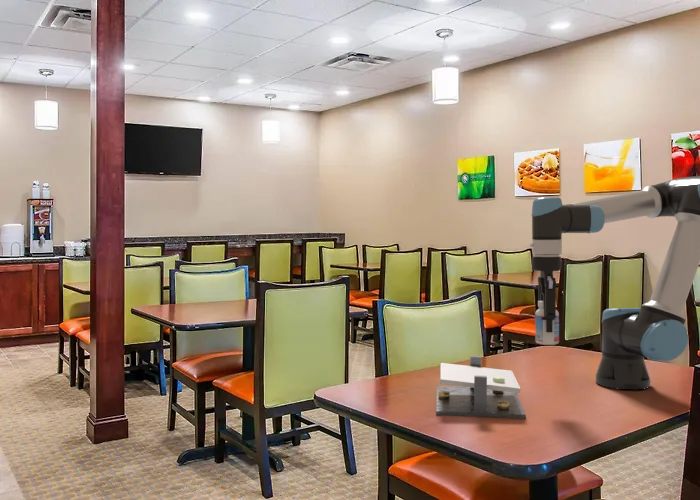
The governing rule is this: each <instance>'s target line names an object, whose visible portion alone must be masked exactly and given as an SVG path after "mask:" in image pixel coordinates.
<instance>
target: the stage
mask: <svg viewBox="0 0 700 500" xmlns="http://www.w3.org/2000/svg"><path fill="white" fill-rule="evenodd" d="M439 367H440V368H439V369H440V373H439V375H440V376H439V384H440V385H445V386H458V387H471V388H474V376H487V389H489V390H497V391H506V392H514V393H517V394H521V387H520V384H519V383H518V381H517V378H516V376H515V374H514V372H513V370H510V369H509V370H507V369H501V368H500V369H499V368H491V367H482V366H481V367H477V366H470V365H465V364H456V363H455V364H454V363H447V362H441V363H440V366H439Z"/></svg>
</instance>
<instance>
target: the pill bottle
mask: <svg viewBox="0 0 700 500" xmlns="http://www.w3.org/2000/svg"><path fill="white" fill-rule="evenodd" d="M538 307H539V309H538ZM534 314H535V315H534V316H535V317H534V318H535V319H534V321H535V323H534V324H535V325H534V326H535V327H534V329H535V331H534V332H535V335H534V337H535V338H534V339H535V343H536V344H539V345H543V320H541V318H542V317H544V304H543V301H538V300H537V309H536V311H535V312H534ZM559 342H560V313H559V311H558V309H556V318H555V319H554V345H555V346H556V345H557V344H559ZM554 345H553V346H554Z"/></svg>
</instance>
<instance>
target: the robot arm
mask: <svg viewBox="0 0 700 500" xmlns="http://www.w3.org/2000/svg"><path fill="white" fill-rule="evenodd" d="M640 217H647V218H649V219H654V218H659V217H674V218H675V219H676V221H677V224H676V227H675V230H674V232H673V236H672V239H671V241H670V244H669V247H668V250H667V252H666V255H665V258H664V261H663V263H662V266H661V269H660V272H659V275H658V277H657V279H656V283H655V285H654V288H653V291H652V294H651V296H650V299H649V301H647V302H645V303H643V304H642V305H641V307H623V308H622V307H621V308H620V307H619V308H606V309H605V310H603V312H602V318H601V326H602V327H601V328H602V329H601V330H602V331H601V358H600V362H599V365H598V366H597V367H598V368H597V369H596V373H595V384H597V383H598V384H600V385H599V386H601V385H602V386H601V387H604V386H606V387H605V388H608V387H611V388H610V389H613V388H618V389H617V390H620V389H644V388H647V387H649V386H650V387H651V377H650V375H649V371H648V368H647V365H646V362H645V358H647V359H649V360H652V361H659V362H671V361H672V360H674V359H677V358H679V357H680V356H681V355H682V354H683V353H684V352H685V350H686V348H687V346H688V343H689V334H688V329H687V327H686V326H685V323H686V320H687V318H686V316H685V314H684V313H683V310H684V308H685V304H686V303H687V302H686V301H687V299H688V296H689V293H690V290H691V288H692V285H693V282H694V280H695V277H696V275H697V272H698V268H699V266H700V175H698V176H685V177H677V178H674V179H673V178H672V179H670V180H667V181H664V182H661V183H660V182H659V183H656V184H651V185H646V186H644V187H643V188H642V189H641V190H638V191H632V192H627V193H622V194H616V195H612V196H611V195H610V196H606V197H600V198H595V199H590V200H584V201H579V202H572V203H568V204H563V201H562V198H560V197H537V198H535V199H533V201H532V208H531V235H532V237H531V239H532V243H530V244H529V247H530V248H531V250H532V251H531V252H532V253H531V254H532V255H534V256H532V257H531V270H532V271H536V272H540V276H538V277H537V283H538V286H537V288H538V290H537V291H538V295H537V296H538V297H537V299H538V300H537V302H538V301H543V304H544V317H542V318H541V320H543V344H542V345H543V346H544V345H546V346H547V345H548V346H549V345H551V346H554V319H555V318H556V310H557V309H556V307H557V302H556V288H557V286H556V284H557V280H556V277H554V272H559V271H561V270H562V267H563V266H562V257H561V256H560V255H562V253H563V251H562V250H563V249H562V248H563V246H562V245H563V244H562V243H563V242H562V240H563V239H562V237H563V235H562V234H591V233H592V234H594V233H599V232H601V230H602V229H604V225H605V224H608V223H615V222H619V221H624V220H630V219H635V218H640ZM538 309H539V307H538V306H537V310H538ZM598 384H597V385H598ZM644 390H645V389H644Z"/></svg>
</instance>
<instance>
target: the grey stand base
mask: <svg viewBox="0 0 700 500" xmlns="http://www.w3.org/2000/svg"><path fill="white" fill-rule="evenodd" d="M469 366H477V367H482V356H480V355H479V356H478V355H477V356H475V355H474V356H473V355H470V356H469ZM435 405H436V407H435V415H436V416H449V417H471V418H472V417H473V418H475V417H477V418H498V419H501V418H502V419H503V418H504V419H527V415H526V411H525V409H524V406H523V405H522V403H521V401H520V398H519V396H518V393H514V392H506V391H497V390H489V389H487V376H474V388H471V387H463V386H454V385H436V404H435Z"/></svg>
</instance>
